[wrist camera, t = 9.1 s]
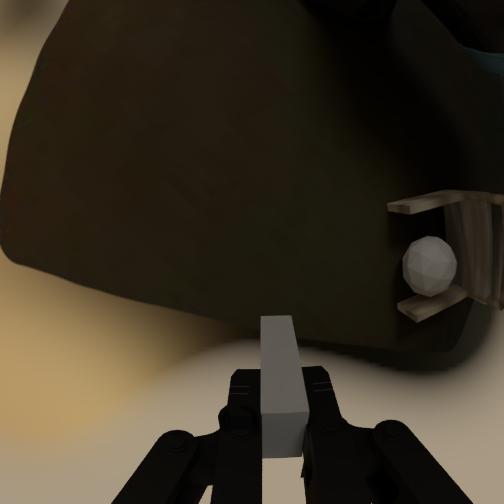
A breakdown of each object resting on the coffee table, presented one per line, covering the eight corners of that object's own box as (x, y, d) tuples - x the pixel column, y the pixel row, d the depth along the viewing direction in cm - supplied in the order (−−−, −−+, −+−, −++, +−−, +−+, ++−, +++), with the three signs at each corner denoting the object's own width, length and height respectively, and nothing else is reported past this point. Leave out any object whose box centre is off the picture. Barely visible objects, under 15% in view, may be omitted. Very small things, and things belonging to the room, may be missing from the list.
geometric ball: (392, 254, 38) (395, 244, 31) (438, 234, 35) (450, 220, 28) (409, 304, 36) (416, 305, 29) (456, 283, 33) (472, 279, 26)
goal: (397, 309, 37) (452, 348, 25) (386, 203, 34) (454, 211, 21) (451, 284, 38) (507, 310, 25) (445, 189, 34) (510, 194, 22)
